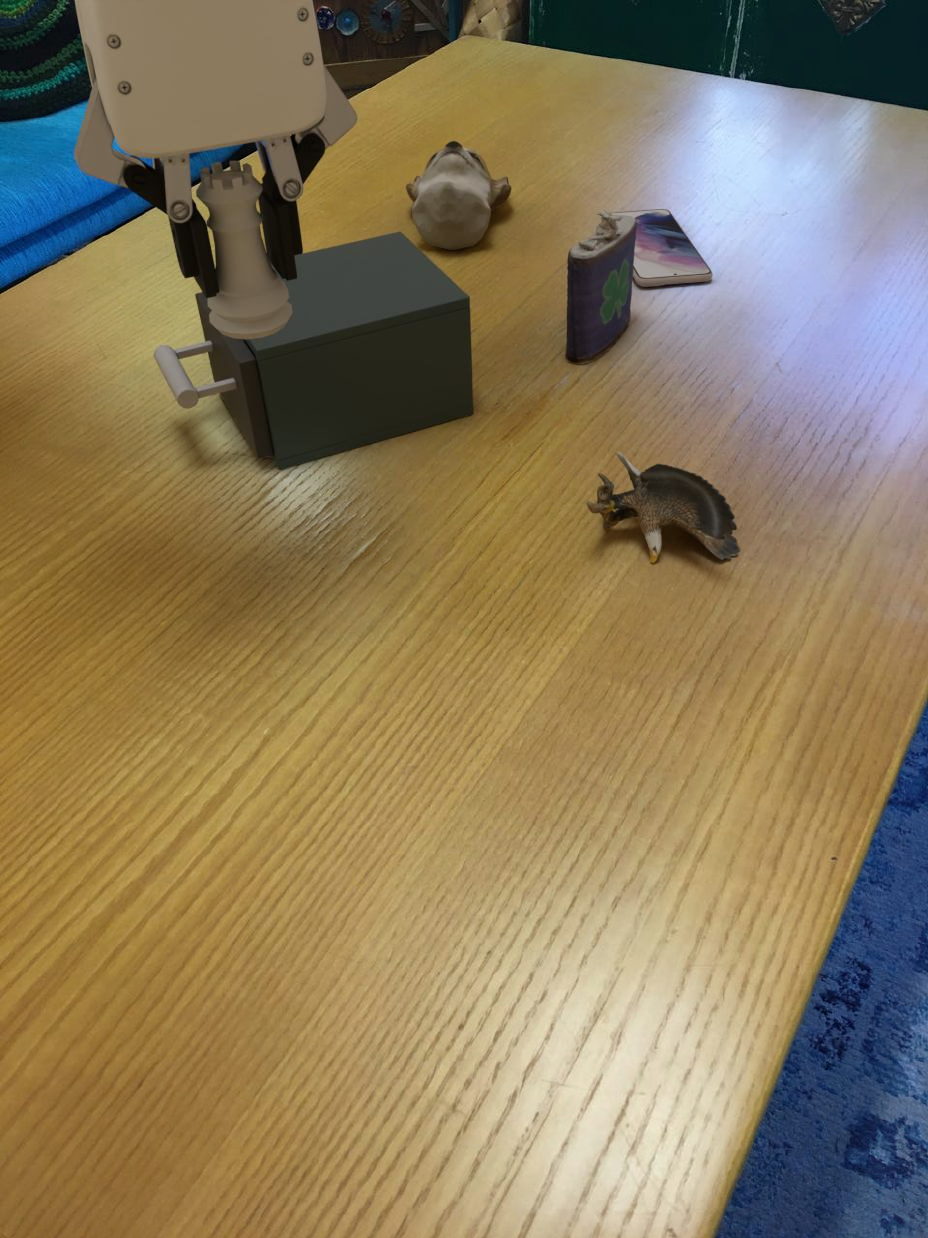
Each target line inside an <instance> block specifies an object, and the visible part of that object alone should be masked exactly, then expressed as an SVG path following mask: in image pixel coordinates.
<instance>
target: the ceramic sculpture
mask: <svg viewBox="0 0 928 1238" xmlns="http://www.w3.org/2000/svg"><path fill="white" fill-rule="evenodd" d="M509 182H510V181H509V177H508V176H504V177H502V178H498V179H493V178H492V176H491V173H490V171H489V169H488V166H487V163H486V161H485V159H484V158H483V157H482V156H481V155H480V154H479V153H478V152H477V151H476V150H474V149H471V148H467V147H463V145H462V144H461V143H460V142H459V141H456V140H451V141H449V142H447V143H446V144H445V146H444V147H443V148H442V149H439V150H437V151H436V152H435V153H434V154H433V155H431V156H430V158H429V159H428V160H427V163H426V165H425V168H424V171H423V173H422V174H421V176H419V175H416V176H415V178H414V180H413V183H411V182H409V183H406V185H405V189H406V192H407V195H408V197H409V199H410V200H411V201H412V203H413V205H412V207H411V215H412V216H411V217H412V220H413V223H414V226H415V228H416V230H417V232H418V234H419V235H420V236H421V238H422V239H423V240H424V242H426V244H428V245H430V246H432V247H438V248H441V249H443V248H444V249H443V250H447V249H448V251H457V250H461V249H464V248H469V247H473V246H475V245H476V244H477V243H478V242H480V240H482V238H483V236H484V234H485V233H486V231H487V229H488V227H489V223H490V220H491V216H492V211H494V210H496V209H497V208H500V207H501V206H503V205H504V204H505V203H506V202H507V200H508V199H509V197H510V195H511V193H512V185H510V183H509ZM456 249H457V250H456Z"/></svg>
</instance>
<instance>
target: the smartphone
mask: <svg viewBox="0 0 928 1238" xmlns="http://www.w3.org/2000/svg"><path fill="white" fill-rule="evenodd" d="M609 213H610V214H614V215H627V216H632V217H633V218H635V219H636V221H637V229H636V240H635V251H634V264H633V277H632V278H633V279H634V281H635V282H636V284H637V285H638V286H640V287H642V288H648V287H651V288H652V287H661V286H665V285H675V284H676V285H677V284H691V283H703V282H709V281H710V280H712V278H713V275H714V274H713V270H711V268H710V266H709V265H708V264H707V262H706V261H705V259H704V258H703V257H702V255H701V253H700V252H699V251H698V249H697V248H696V246H695V245H694V243H693V242H692V240H691V239H690V238H689V236H688V235H687V234H686V232H685V231H684V229H683V228H682V227H681V225H680V224H679V222H678V221H677V219H676V218H675V216H674V215H673V214H672V212H671V211H670V210H669V209H667V208H654V209H641V210H629V211H627V210H626V211H614V212H613V211H612V212H609ZM600 220H601V222H602V221H603V219H602V217H601V216H600Z"/></svg>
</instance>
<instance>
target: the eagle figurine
mask: <svg viewBox="0 0 928 1238" xmlns="http://www.w3.org/2000/svg"><path fill="white" fill-rule="evenodd" d="M615 454H616V456H617V458H618V459H619V461H620V463H622V465H623V466H624V467H625V469H626V470H627V474H628V476H629V479H630V481H631V484H632V487H633V489H630V490H628V491H624V492H621V493H614V488H615V484H614V482H613V481H611V480H610V479H609V478H608V477H607V476H606V475H605V474H603V473H600V472H599V473H597V476H598V477H599V478H600V480H601V481H602V482H603V484H601V485H599V486H598V487H597V490H596V496H597V500H596V501H597V502H596V503H593V502H591V501H587V502H586V506H587V508H588V510H589V512H590V513H591V514H600V515H601V517H602V519H603V521H602V528H603V529H604V530H606V529H608V530H611V528H613V527H614V526H616V525H618V524H619V522H622V521H624V520H626V519H627V520H628V519H634V518H637V520H638V523H639V527H640V530H641V533H642V534H643V536H644V539H645V540H646V543H647V547H648V550H649V555H650V559H649V563H650V564H655V563H656V562H657V560H658V558H659V555H660V553H661V550H662V543H663V541H662V540H663V539H662V527H664V526H674V527H678V528H680V529H682V530H683V531H684V532H687V533H688V534H689V535H691V536H692V537H694V538H695V539H697V540H698V541H699V542H700V543H701V544H702V545H703V546H704V547H705V548H706V549H707V550H708V551H709V552H710V553H711V554H712V555H713V556H714V557H716V558H717V559H718V560H720V561H723V560H725V559H727V560H731V559H732V557H737V556H739V553H738V552H740V550H741V549H740V546H739V545H738V539H737V538H736V537H735V536H734V535H733V533H734V532H733V531H737V530H738V526H737V523H736V522H735V521H734V520H735V518H736V515H735V513H734V512H733V511H732V507H731V505H730V504H729V503H728V502H727V498H726V497H725V495H723V494H721V493H720V490H719V489H717V488H716V487H715V486H714V484H712V483H710V481H709V480H708V479H704V477H703V476H702V475H698V474H697V473H695V472H690V471H688V470H685V469H683V468H680V467H675V466H672V465H668V464H664V463H663V464H662V463H655V464H654V465H651V466H649V467H648V468H646V469H644V471H640V470H638V469H637V468H636V467H635V466H634V465H633V464H632V463H631V462H630V461H629V460H628V459H627V458H626V457H625V456H624V455H623V454H622V453H621V452H619V451H616V453H615ZM614 510H615V511H614Z"/></svg>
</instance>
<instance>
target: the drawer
mask: <svg viewBox="0 0 928 1238" xmlns="http://www.w3.org/2000/svg"><path fill="white" fill-rule="evenodd" d="M194 296H195V297H194V298H195V301H196V305H197V309H198V310H197V311H198V314H199V315H198V316H199V319H200V323H201V324H200V325H201V328H202V333H203V337H204V341H203V342H198V343H194V344H190V345H186V346H183V347H178V348H174V349H173V348H172V347H171V346H170V345H168V344H161V345H159V346H157V347H156V348H155V349H154V351H153V358H154V361H155V362H156V364H157V366H158V368H159V370H160V372H161V374H162V376H163V377H164V380H165V381H166V384H167V385H168V387H169V389H170V391H171V393H172V395H173V397H174V399H175V400H176V403H177V405H179V406H180V407H181V408H183V409H192V408H194V407H196V406H197V404H198V403H199V399H203V398H207V397H210V396H211V397H212V396H214V395H217V394H219V396H220V397H221V399H222V400H223V402H224V404H225V405H226V407H227V409H228V411H229V412H230V414H231V416H232V417H233V419H234V421H235V423H236V424H237V426H238V428H239V429H240V431H241V432H242V435H243V436H244V438H245V440H246V442H247V443H248V445H249V446H250V448H251V450H252V451H253V453H254V455H255V457H256V458H257V460H262V459H267V458H269V457H270V458H271V456H273V455H274V453H273V448H272V442H271V437H270V432H269V426H268V421H267V416H266V410H265V405H264V399H263V394H262V389H261V383H260V378H259V373H258V367H257V362H256V356H255V354H254V353H253V351H252V350H251V348H250V347H249V345H248V344H247V342H246V341H245V339H235V338H231V337H228V336H226V335H223V334H222V333H221V332H220V331H219V330H217V329H216V328H215V327H214V326H213V325H212V324H211V323H210V321H209V314H210V313H211V311H212V310H211V309H210V308H209V307H208V300H207V298H206V297H205V295H204V294H203V292H202V291H201V292H197V293H195V294H194ZM206 353H207V357H208V361H209V366H210V369H211V373H212V378H213V382H211V383H207V384H204V385H200V386H194V384H193V383H192V381H191V379H190V377H189V375H188V374H187V372H186V370H185V368H184V366H183V365H182V363H181V360H182V359H186V358H191V357H194V356H198V355H202V354H206Z"/></svg>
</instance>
